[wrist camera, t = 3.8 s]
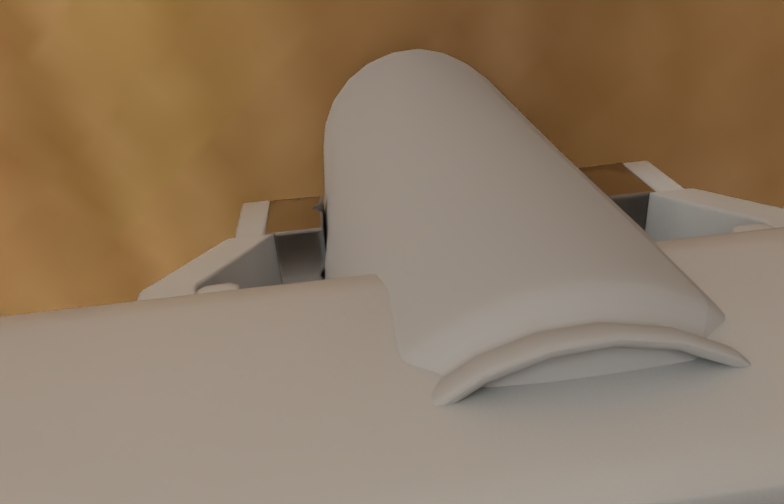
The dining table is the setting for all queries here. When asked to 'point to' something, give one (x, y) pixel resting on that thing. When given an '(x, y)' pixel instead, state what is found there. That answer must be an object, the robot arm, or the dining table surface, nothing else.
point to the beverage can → (494, 238)
